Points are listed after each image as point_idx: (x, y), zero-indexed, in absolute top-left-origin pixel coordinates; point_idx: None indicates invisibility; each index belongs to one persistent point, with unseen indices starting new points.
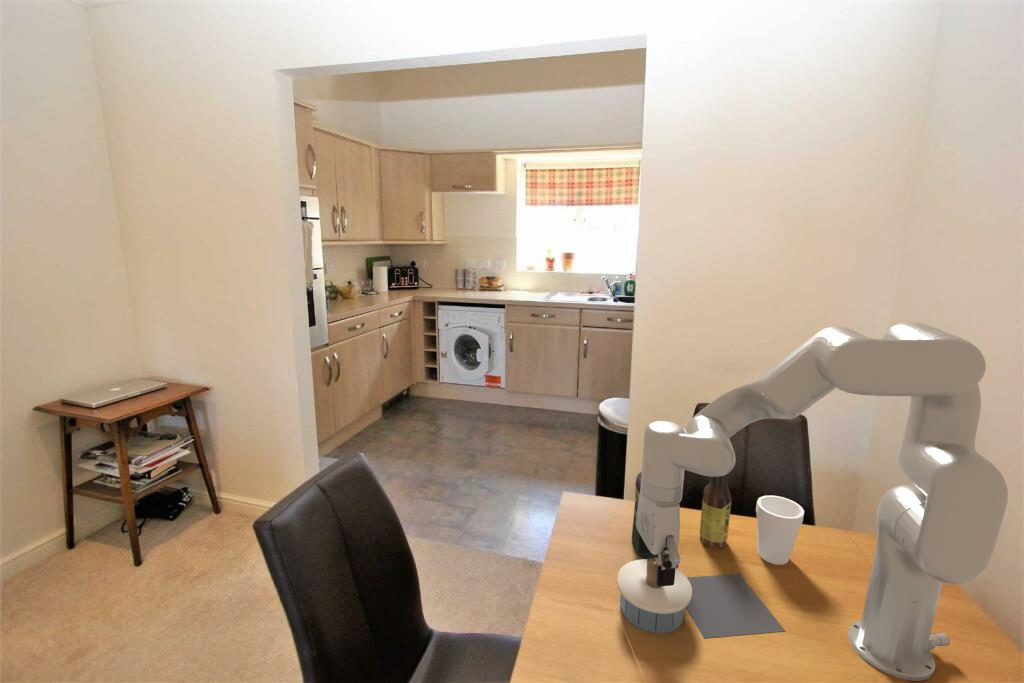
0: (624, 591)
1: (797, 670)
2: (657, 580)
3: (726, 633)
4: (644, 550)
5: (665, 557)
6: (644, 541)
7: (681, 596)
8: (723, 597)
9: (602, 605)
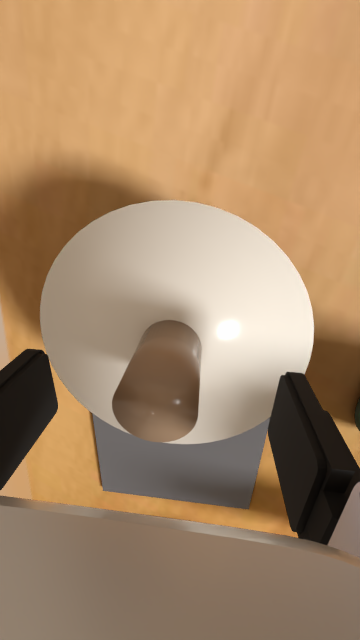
0: (133, 210)
1: (32, 460)
2: (13, 362)
3: None
4: (279, 401)
5: (355, 419)
6: (37, 525)
7: (100, 395)
8: (191, 456)
9: (231, 156)
